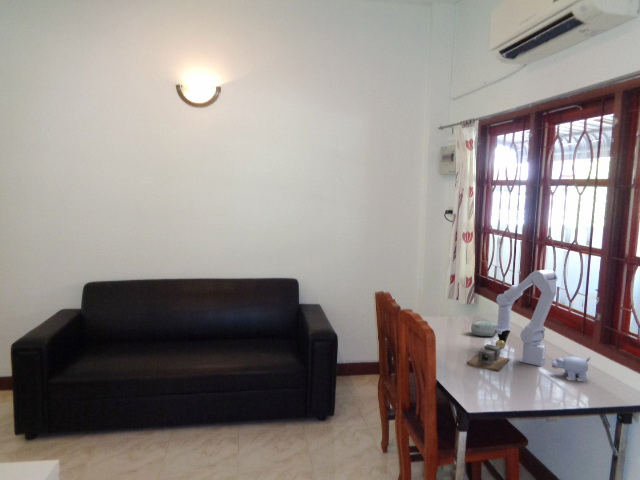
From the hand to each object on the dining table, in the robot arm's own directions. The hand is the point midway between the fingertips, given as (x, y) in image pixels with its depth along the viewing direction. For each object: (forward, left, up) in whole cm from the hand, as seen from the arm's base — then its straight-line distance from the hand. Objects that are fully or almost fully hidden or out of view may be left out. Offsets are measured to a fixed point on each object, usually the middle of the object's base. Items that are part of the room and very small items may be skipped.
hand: (502, 344), depth 245 cm
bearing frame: (0, +21, -3) cm, 21 cm away
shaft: (0, +14, -1) cm, 14 cm away
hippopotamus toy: (-33, +14, -3) cm, 36 cm away
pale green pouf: (+15, -18, -3) cm, 24 cm away
